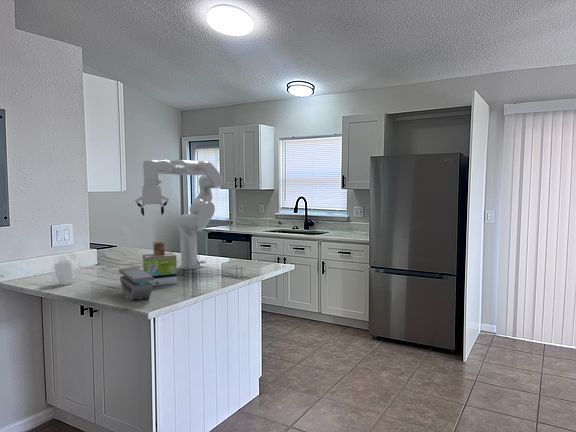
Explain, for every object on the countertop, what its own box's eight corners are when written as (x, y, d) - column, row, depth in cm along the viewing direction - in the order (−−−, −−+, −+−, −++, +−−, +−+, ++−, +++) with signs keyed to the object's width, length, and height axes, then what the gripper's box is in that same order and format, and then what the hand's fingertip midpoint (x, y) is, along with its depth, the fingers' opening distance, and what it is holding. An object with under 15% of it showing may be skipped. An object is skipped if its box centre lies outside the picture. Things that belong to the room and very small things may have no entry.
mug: (58, 287, 218) (56, 264, 217) (54, 284, 224) (52, 261, 223) (84, 283, 225) (82, 261, 224) (79, 280, 232) (78, 258, 231)
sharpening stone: (120, 292, 207) (119, 269, 206) (137, 289, 212) (136, 267, 211) (135, 304, 187) (134, 279, 186) (154, 301, 191) (153, 276, 190)
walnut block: (164, 253, 225) (163, 241, 225) (164, 254, 220) (164, 243, 220) (153, 253, 224) (153, 242, 223) (154, 255, 219) (153, 243, 218)
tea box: (146, 287, 216) (145, 257, 214) (143, 283, 224) (142, 254, 223) (177, 283, 222) (176, 254, 221) (172, 279, 231) (171, 251, 230)
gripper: (167, 182, 243) (168, 213, 245) (134, 183, 237) (135, 215, 239) (168, 182, 236) (169, 214, 238) (134, 183, 230) (135, 216, 232)
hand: (152, 214), depth 238 cm, fingers open, 9 cm apart
